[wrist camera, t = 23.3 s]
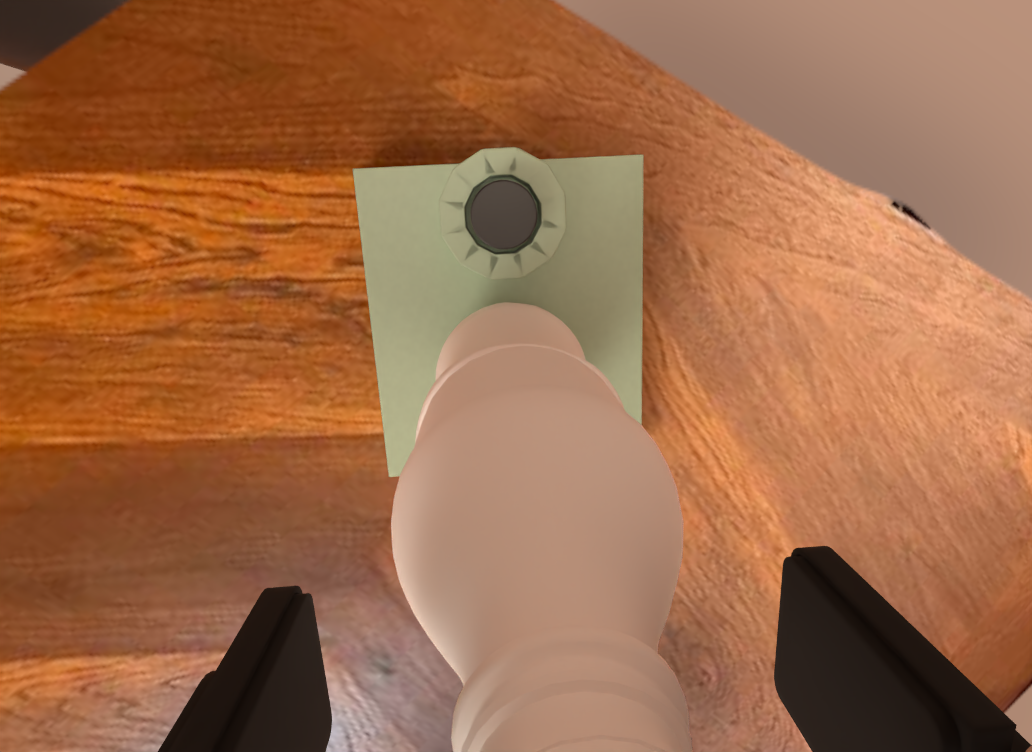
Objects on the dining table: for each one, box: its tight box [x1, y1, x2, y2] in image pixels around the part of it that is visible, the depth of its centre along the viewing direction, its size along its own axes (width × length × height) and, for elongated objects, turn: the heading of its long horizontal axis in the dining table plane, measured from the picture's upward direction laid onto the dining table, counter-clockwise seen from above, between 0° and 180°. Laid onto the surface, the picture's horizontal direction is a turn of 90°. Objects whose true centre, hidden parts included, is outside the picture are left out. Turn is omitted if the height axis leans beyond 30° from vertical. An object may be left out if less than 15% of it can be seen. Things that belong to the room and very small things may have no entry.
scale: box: [353, 147, 644, 477], centre depth 30 cm, size 16×14×4 cm
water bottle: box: [391, 302, 692, 752], centre depth 19 cm, size 7×7×25 cm
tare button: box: [470, 180, 537, 249], centre depth 27 cm, size 3×3×2 cm
